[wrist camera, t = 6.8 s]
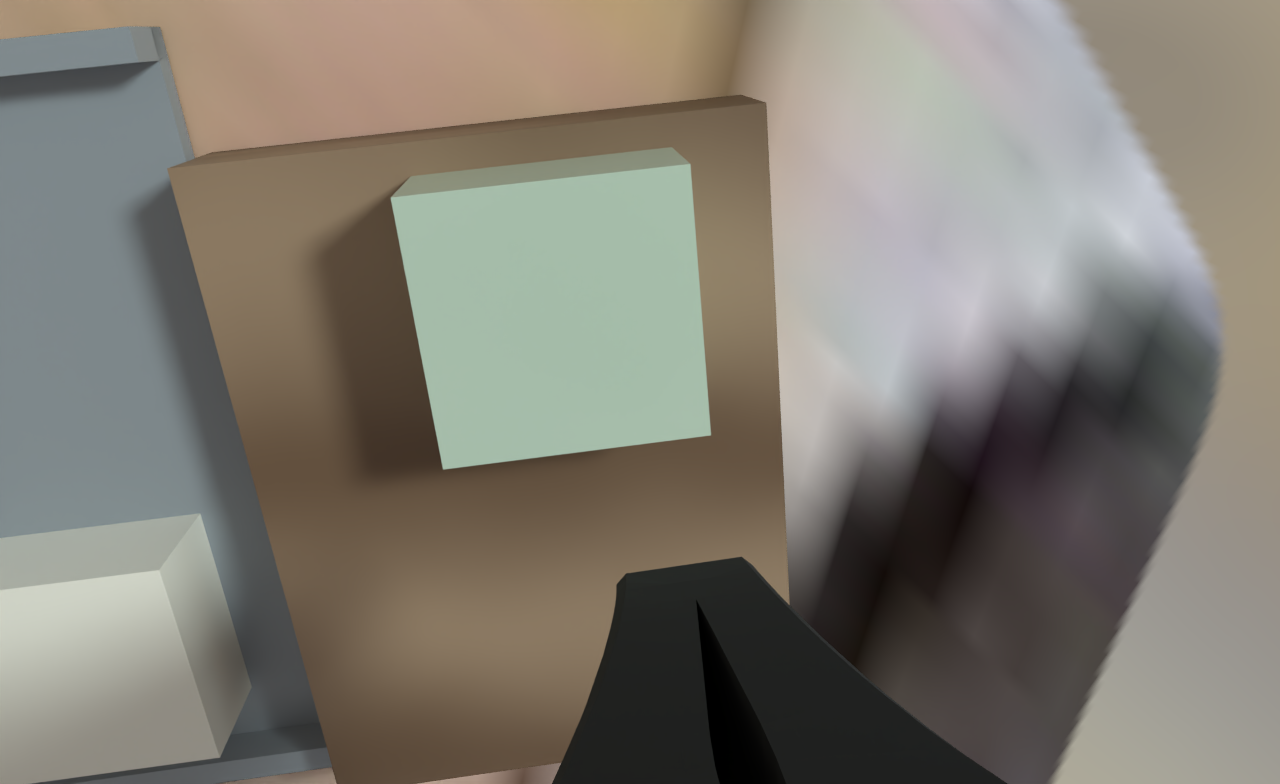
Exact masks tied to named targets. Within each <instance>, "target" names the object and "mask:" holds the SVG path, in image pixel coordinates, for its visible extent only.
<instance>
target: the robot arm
mask: <svg viewBox="0 0 1280 784" xmlns="http://www.w3.org/2000/svg"><path fill="white" fill-rule="evenodd" d="M552 784H1007V783H1006V782H1004V781H1003V780H1001V779H1000V778H998V777H997V776H995V775H994V774H992V773H991V772H989V771H988V770H986V769H985V768H983V767H982V766H980V765H979V764H977V763H976V762H974V761H973V760H971V759H970V758H968V757H967V756H965V755H964V754H963V753H961V752H960V751H959V750H957V749H956V748H954V747H953V746H952V745H950V744H949V743H948V742H946V741H945V740H944V739H942V738H941V737H940V736H938V735H937V734H936V733H934V732H933V731H932V730H930V729H929V728H928V727H926V726H925V725H924V724H922V723H921V722H920V721H919V720H917V719H916V718H915V717H914V716H912V715H911V714H910V713H909V712H907V711H906V710H905V709H904V708H902V707H901V706H900V705H899V704H897V703H896V702H895V701H894V700H892V699H891V698H890V697H889V696H887V695H886V694H885V693H884V692H883V691H882V690H880V689H879V688H878V687H877V686H876V685H875V684H873V683H872V682H871V681H870V680H869V679H867V678H866V677H865V676H864V675H863V674H862V673H861V672H859V671H858V670H857V669H856V668H855V667H854V666H853V665H852V664H851V663H850V662H848V661H847V660H846V659H845V658H844V657H843V656H842V655H841V654H840V653H839V652H837V651H836V650H835V649H834V648H833V647H832V646H831V645H830V644H829V643H827V642H826V641H825V640H824V639H823V638H822V637H821V636H820V635H819V634H818V633H817V632H816V631H815V630H814V629H813V628H812V627H811V626H810V625H809V624H808V623H807V622H806V621H805V620H804V619H803V618H802V617H801V616H800V615H799V614H798V613H797V612H796V611H795V610H794V609H793V608H792V607H791V606H790V605H789V604H788V603H787V602H786V601H785V600H784V599H783V598H782V597H781V596H780V595H779V594H778V593H777V592H776V591H775V590H774V588H773V587H772V586H771V585H770V584H769V583H768V582H767V581H766V580H765V579H764V577H763V576H762V575H761V574H760V573H759V572H758V571H757V570H756V568H755V567H754V566H753V565H752V564H751V563H749V562H748V561H747V560H745V559H744V558H743V557H736V558H729V559H722V560H715V561H708V562H701V563H694V564H688V565H681V566H674V567H667V568H660V569H653V570H646V571H639V572H633V573H626V574H625V575H624V576H623V577H622V579H621V580H620V581H619V582H618V583H617V584H616V601H615V608H614V614H613V619H612V623H611V628H610V632H609V635H608V639H607V643H606V646H605V650H604V654H603V657H602V660H601V663H600V666H599V669H598V671H597V674H596V677H595V680H594V683H593V686H592V689H591V692H590V695H589V698H588V701H587V703H586V706H585V709H584V711H583V714H582V716H581V719H580V721H579V723H578V726H577V728H576V730H575V733H574V735H573V737H572V740H571V742H570V744H569V747H568V749H567V751H566V753H565V756H564V758H563V760H562V763H561V765H560V767H559V770H558V772H557V774H556V776H555V778H554V781H553V783H552Z"/></svg>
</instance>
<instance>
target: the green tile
mask: <svg viewBox="0 0 1280 784" xmlns="http://www.w3.org/2000/svg"><path fill="white" fill-rule="evenodd" d="M391 202H392V208H393V213H394V218H395V223H396V228H397V233H398V239H399V244H400V249H401V254H402V259H403V265H404V270H405V275H406V280H407V285H408V290H409V296H410V301H411V306H412V311H413V316H414V322H415V327H416V332H417V337H418V342H419V348H420V353H421V358H422V363H423V368H424V373H425V379H426V384H427V389H428V394H429V399H430V405H431V410H432V415H433V420H434V425H435V431H436V436H437V441H438V446H439V451H440V456H441V462H442V467H443V470H444V469H452V468H459V467H467V466H475V465H483V464H491V463H499V462H506V461H514V460H522V459H530V458H538V457H546V456H553V455H561V454H569V453H577V452H585V451H593V450H600V449H608V448H616V447H624V446H632V445H640V444H647V443H655V442H663V441H671V440H679V439H687V438H694V437H702V436H710V435H711V428H710V415H709V402H708V389H707V376H706V363H705V349H704V336H703V323H702V310H701V297H700V284H699V271H698V258H697V245H696V231H695V218H694V205H693V192H692V179H691V166H690V163H689V162H688V161H687V160H686V159H684V158H683V157H682V156H681V155H680V154H679V153H678V152H677V151H676V150H675V149H673V148H672V147H668V148H659V149H650V150H641V151H632V152H623V153H614V154H605V155H596V156H587V157H578V158H569V159H560V160H552V161H543V162H534V163H525V164H516V165H507V166H498V167H489V168H480V169H471V170H462V171H453V172H444V173H435V174H426V175H417V176H411V177H410V178H409V179H408V180H407V181H406V182H405V183H404V184H403V185H402V186H401V187H400V188H399V189H398V190H397V191H396V192H395V193H394V195H393V196H392V197H391Z"/></svg>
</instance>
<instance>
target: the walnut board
mask: <svg viewBox="0 0 1280 784" xmlns="http://www.w3.org/2000/svg"><path fill="white" fill-rule="evenodd" d="M668 147H672V148H673V149H675V150H676V151H677V152H678V153H679V154H680V155H681V156H682V157H683V158H684V159H686V160H687V161H688V162H689V163H690V166H691V179H692V192H693V205H694V218H695V231H696V245H697V258H698V271H699V284H700V297H701V310H702V323H703V336H704V349H705V363H706V376H707V389H708V402H709V415H710V428H711V435H710V436H702V437H694V438H687V439H679V440H671V441H663V442H655V443H647V444H640V445H632V446H624V447H616V448H608V449H600V450H593V451H585V452H577V453H569V454H561V455H553V456H546V457H538V458H530V459H522V460H514V461H506V462H499V463H491V464H483V465H475V466H467V467H459V468H452V469H444V470H443V467H442V462H441V456H440V451H439V446H438V441H437V436H436V431H435V425H434V420H433V415H432V410H431V405H430V399H429V394H428V389H427V384H426V379H425V373H424V368H423V363H422V358H421V353H420V348H419V342H418V337H417V332H416V327H415V322H414V316H413V311H412V306H411V301H410V296H409V290H408V285H407V280H406V275H405V270H404V265H403V259H402V254H401V249H400V244H399V239H398V233H397V228H396V223H395V218H394V213H393V208H392V202H391V197H392V196H393V195H394V193H395V192H396V191H397V190H398V189H399V188H400V187H401V186H402V185H403V184H404V183H405V182H406V181H407V180H408V179H409V178H410V177H411V176H417V175H426V174H435V173H444V172H453V171H462V170H471V169H480V168H489V167H498V166H507V165H516V164H525V163H534V162H543V161H552V160H560V159H569V158H578V157H587V156H596V155H605V154H614V153H623V152H632V151H641V150H650V149H659V148H668ZM167 170H168V174H169V177H170V181H171V185H172V188H173V192H174V196H175V199H176V203H177V206H178V210H179V214H180V217H181V221H182V225H183V228H184V232H185V235H186V239H187V243H188V246H189V250H190V253H191V257H192V261H193V264H194V268H195V272H196V275H197V279H198V282H199V286H200V290H201V293H202V297H203V301H204V304H205V308H206V311H207V315H208V319H209V322H210V326H211V330H212V333H213V337H214V340H215V344H216V348H217V351H218V355H219V359H220V362H221V366H222V369H223V373H224V377H225V380H226V384H227V388H228V391H229V395H230V398H231V402H232V406H233V409H234V413H235V417H236V420H237V424H238V427H239V431H240V435H241V438H242V442H243V446H244V449H245V453H246V456H247V460H248V464H249V467H250V471H251V475H252V478H253V482H254V485H255V489H256V493H257V496H258V500H259V504H260V507H261V511H262V514H263V518H264V522H265V525H266V529H267V533H268V536H269V540H270V543H271V547H272V551H273V554H274V558H275V561H276V565H277V569H278V572H279V576H280V580H281V583H282V587H283V590H284V594H285V598H286V601H287V605H288V609H289V612H290V616H291V619H292V623H293V627H294V630H295V634H296V638H297V641H298V645H299V648H300V652H301V656H302V659H303V663H304V667H305V670H306V674H307V677H308V681H309V685H310V688H311V692H312V696H313V699H314V703H315V706H316V710H317V714H318V717H319V721H320V725H321V728H322V732H323V735H324V739H325V743H326V746H327V750H328V754H329V757H330V761H331V764H332V768H333V772H334V775H335V779H336V783H337V784H416V783H423V782H430V781H437V780H444V779H450V778H457V777H464V776H471V775H478V774H485V773H492V772H499V771H506V770H513V769H520V768H527V767H533V766H540V765H547V764H554V763H561V762H562V760H563V758H564V756H565V753H566V751H567V749H568V747H569V744H570V742H571V740H572V737H573V735H574V733H575V730H576V728H577V726H578V723H579V721H580V719H581V716H582V714H583V711H584V709H585V706H586V703H587V701H588V698H589V695H590V692H591V689H592V686H593V683H594V680H595V677H596V674H597V671H598V669H599V666H600V663H601V660H602V657H603V654H604V650H605V646H606V643H607V639H608V635H609V632H610V628H611V623H612V619H613V614H614V608H615V601H616V584H617V583H618V582H619V581H620V580H621V579H622V577H623V576H624V575H625V574H626V573H633V572H639V571H646V570H653V569H660V568H667V567H674V566H681V565H688V564H694V563H701V562H708V561H715V560H722V559H729V558H736V557H743V558H744V559H745V560H747V561H748V562H749V563H751V564H752V565H753V566H754V567H755V568H756V570H757V571H758V572H759V573H760V574H761V575H762V576H763V577H764V579H765V580H766V581H767V582H768V583H769V584H770V585H771V586H772V587H773V588H774V590H775V591H776V592H777V593H778V594H779V595H780V596H781V597H782V598H783V599H784V600H785V601H786V602H787V603H788V604H789V585H788V563H787V541H786V520H785V498H784V476H783V455H782V433H781V412H780V390H779V368H778V347H777V325H776V303H775V282H774V260H773V239H772V217H771V195H770V174H769V152H768V130H767V109H766V103H765V102H762V101H759V100H756V99H753V98H749V97H746V96H743V95H735V96H726V97H717V98H708V99H698V100H689V101H680V102H671V103H662V104H653V105H643V106H634V107H625V108H616V109H607V110H598V111H588V112H579V113H570V114H561V115H552V116H542V117H533V118H524V119H515V120H506V121H497V122H487V123H478V124H469V125H460V126H451V127H442V128H432V129H423V130H414V131H405V132H396V133H387V134H377V135H368V136H359V137H350V138H341V139H331V140H322V141H313V142H304V143H295V144H286V145H276V146H267V147H258V148H249V149H240V150H231V151H221V152H212V153H209V154H206V155H204V156H201V157H198V158H195V159H192V160H189V161H187V162H184V163H181V164H178V165H175V166H173V167H170V168H167Z"/></svg>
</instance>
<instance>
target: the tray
mask: <svg viewBox="0 0 1280 784" xmlns="http://www.w3.org/2000/svg"><path fill="white" fill-rule="evenodd" d="M192 159H195V158H194V154H193V150H192V146H191V142H190V139H189V135H188V131H187V127H186V124H185V120H184V116H183V112H182V108H181V105H180V101H179V97H178V93H177V90H176V86H175V82H174V78H173V74H172V71H171V67H170V63H169V59H168V55H167V52H166V48H165V44H164V40H163V37H162V33H161V29H160V27H131V26H129V27H119V28H109V29H99V30H89V31H79V32H70V33H60V34H50V35H40V36H30V37H20V38H11V39H1V40H0V538H5V537H13V536H21V535H29V534H37V533H45V532H53V531H62V530H70V529H78V528H86V527H94V526H102V525H110V524H118V523H126V522H134V521H142V520H151V519H159V518H167V517H175V516H183V515H191V514H199V513H200V514H201V518H202V521H203V524H204V528H205V531H206V535H207V538H208V541H209V545H210V548H211V551H212V555H213V558H214V561H215V565H216V568H217V572H218V575H219V578H220V582H221V585H222V588H223V592H224V595H225V599H226V602H227V605H228V609H229V612H230V615H231V619H232V622H233V626H234V629H235V632H236V636H237V639H238V642H239V646H240V649H241V652H242V656H243V659H244V663H245V666H246V669H247V673H248V676H249V679H250V683H251V686H252V687H251V690H250V692H249V694H248V696H247V699H246V701H245V703H244V705H243V707H242V710H241V712H240V714H239V716H238V719H237V721H236V723H235V725H234V727H233V730H232V732H231V734H230V736H229V738H228V741H227V743H226V745H225V747H224V750H223V752H222V754H221V756H220V758H213V759H206V760H199V761H192V762H184V763H177V764H170V765H162V766H155V767H148V768H141V769H133V770H126V771H119V772H112V773H104V774H97V775H90V776H82V777H75V778H68V779H61V780H53V781H46V782H39V783H31V784H216V783H223V782H230V781H237V780H244V779H251V778H258V777H265V776H272V775H279V774H286V773H293V772H300V771H307V770H314V769H321V768H328V767H332V764H331V761H330V757H329V754H328V750H327V746H326V743H325V739H324V735H323V732H322V728H321V725H320V721H319V717H318V714H317V710H316V706H315V703H314V699H313V696H312V692H311V688H310V685H309V681H308V677H307V674H306V670H305V667H304V663H303V659H302V656H301V652H300V648H299V645H298V641H297V638H296V634H295V630H294V627H293V623H292V619H291V616H290V612H289V609H288V605H287V601H286V598H285V594H284V590H283V587H282V583H281V580H280V576H279V572H278V569H277V565H276V561H275V558H274V554H273V551H272V547H271V543H270V540H269V536H268V533H267V529H266V525H265V522H264V518H263V514H262V511H261V507H260V504H259V500H258V496H257V493H256V489H255V485H254V482H253V478H252V475H251V471H250V467H249V464H248V460H247V456H246V453H245V449H244V446H243V442H242V438H241V435H240V431H239V427H238V424H237V420H236V417H235V413H234V409H233V406H232V402H231V398H230V395H229V391H228V388H227V384H226V380H225V377H224V373H223V369H222V366H221V362H220V359H219V355H218V351H217V348H216V344H215V340H214V337H213V333H212V330H211V326H210V322H209V319H208V315H207V311H206V308H205V304H204V301H203V297H202V293H201V290H200V286H199V282H198V279H197V275H196V272H195V268H194V264H193V261H192V257H191V253H190V250H189V246H188V243H187V239H186V235H185V232H184V228H183V225H182V221H181V217H180V214H179V210H178V206H177V203H176V199H175V196H174V192H173V188H172V185H171V181H170V177H169V174H168V170H167V168H170V167H173V166H175V165H178V164H181V163H184V162H187V161H189V160H192Z"/></svg>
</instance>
